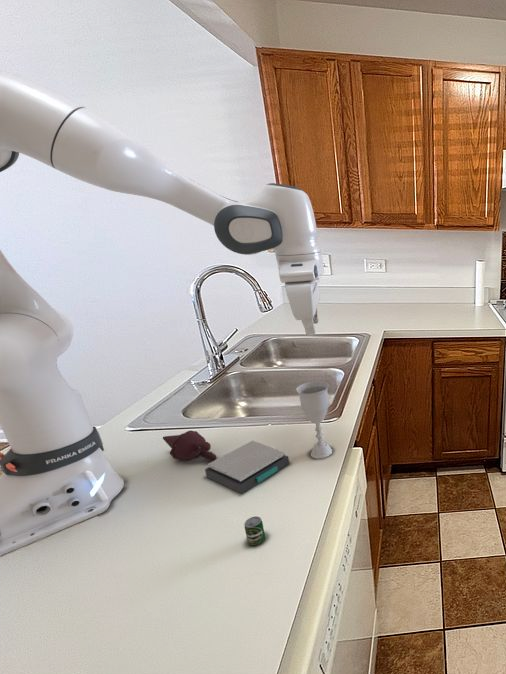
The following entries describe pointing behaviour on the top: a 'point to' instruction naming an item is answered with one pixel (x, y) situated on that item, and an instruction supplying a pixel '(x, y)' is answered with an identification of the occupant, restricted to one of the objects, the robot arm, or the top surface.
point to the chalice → (316, 412)
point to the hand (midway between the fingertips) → (312, 328)
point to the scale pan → (246, 460)
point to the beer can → (254, 530)
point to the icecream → (189, 446)
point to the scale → (249, 481)
